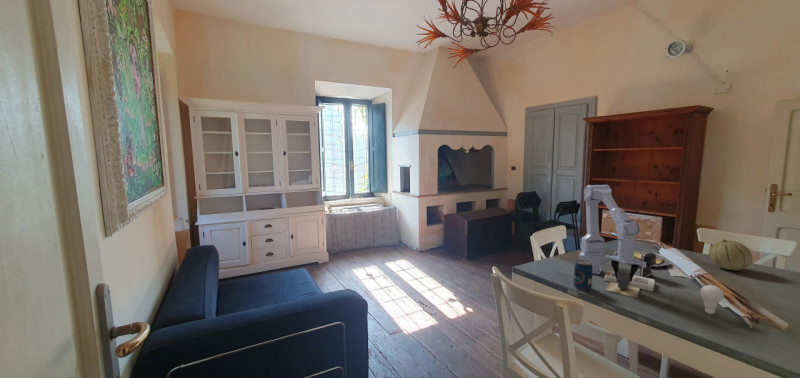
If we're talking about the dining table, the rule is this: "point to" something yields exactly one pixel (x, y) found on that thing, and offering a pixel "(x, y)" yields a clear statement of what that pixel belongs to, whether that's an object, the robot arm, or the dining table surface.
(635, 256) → the food plate
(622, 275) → the block
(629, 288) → the pad
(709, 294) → the lightbulb
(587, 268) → the soda can
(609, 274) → the white slotted block
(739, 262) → the cantaloupe
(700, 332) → the dining table surface
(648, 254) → the battery charger
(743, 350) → the dining table surface
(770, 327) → the dining table surface
